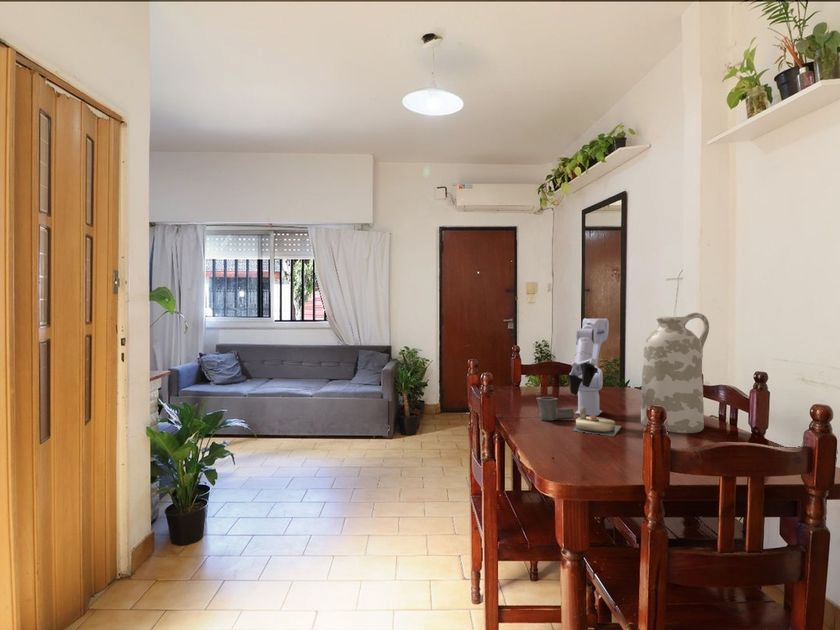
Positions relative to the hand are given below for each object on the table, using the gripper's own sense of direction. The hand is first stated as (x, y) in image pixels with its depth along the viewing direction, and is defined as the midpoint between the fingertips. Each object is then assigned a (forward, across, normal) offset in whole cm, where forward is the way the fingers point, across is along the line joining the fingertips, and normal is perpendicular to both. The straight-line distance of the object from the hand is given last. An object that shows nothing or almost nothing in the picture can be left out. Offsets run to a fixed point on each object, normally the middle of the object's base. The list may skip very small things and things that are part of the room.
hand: (579, 389), depth 160 cm
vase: (+2, +5, +32) cm, 33 cm away
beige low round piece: (+12, 0, +7) cm, 14 cm away
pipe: (+8, -13, -1) cm, 15 cm away
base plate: (+12, 0, +7) cm, 14 cm away
